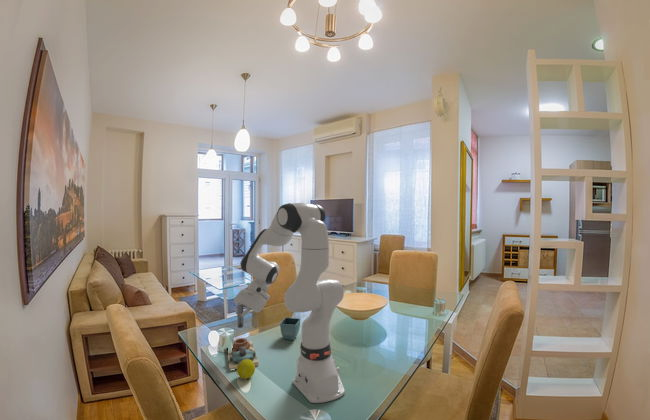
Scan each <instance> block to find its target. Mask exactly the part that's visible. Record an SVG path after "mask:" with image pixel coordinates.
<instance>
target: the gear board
mask: <svg viewBox="0 0 650 420" xmlns="http://www.w3.org/2000/svg"><path fill="white" fill-rule="evenodd" d="M232 344H233V348H232V352H231V353H228V355H227V362H228V361H229V363H228V367H229V368H228V370H229V369H230V370H231V369H237V367H238V364H239V363H240V362H241V361H242V360H245V359H250V360H252V361H253V362H254V364H255V367H258V366H259V360H258V357H257V354H256V350H255V346H254V344H253V341H252V340H249V341H248V339H247V338H244V337H241V338H237V339H234V340H233V343H232Z"/></svg>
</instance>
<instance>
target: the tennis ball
mask: <svg viewBox="0 0 650 420" xmlns="http://www.w3.org/2000/svg"><path fill="white" fill-rule="evenodd" d="M255 371H256V366H255V364H254V362H253V361H252V360H250V359H245V360H242V361H241V362H240V363H239V364H238V367H237V370H236V372H237V375H238V377H239V378H240V379H243V380H246V379H247V378H248V379H250V378H251V377H252V376H253V375H254V374H255ZM248 379H247V380H248Z"/></svg>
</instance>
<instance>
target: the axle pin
mask: <svg viewBox="0 0 650 420" xmlns="http://www.w3.org/2000/svg"><path fill="white" fill-rule="evenodd" d="M236 309H237V310H236V311H237V314H236V315H237V316H236V317H237V328H238V329H239V328H240V329H242V328H243V327H245V325H244V324H245V323H244V317H242V316H240V314H241V312H243V311H244V307H243V305H238V304H237V308H236Z"/></svg>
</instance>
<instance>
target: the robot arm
mask: <svg viewBox="0 0 650 420" xmlns="http://www.w3.org/2000/svg"><path fill="white" fill-rule="evenodd" d="M325 220H326V212H325V209H324V207H322V206H321V205H320V204H317V203H304V202H293V203H291V202H290V203H289V202H288V203H285V204H282V205H280V206H279V207H278V209H277V211H276V213H275V214H274V216H273V219H272V221H271V223H270V226H269V227H267V228H264V229H262V230H261V231H260V232H259V233H258V235H257V236H256V238H255V239H254V241H253V242H252V244H251V245H250V247H249V248H248V250H247V252H246V253H245V255H244V256H243V257H242V259H241V261H240V264H239V265H240V268H241V271H242V272H244V273H247V274H249V275H250V276H252V277H254V279H253V280H252V281H251V283H250V284H249V286H247V287H245V288H242V289H241V290H240V291H239V292H238V293H237V294H236V295H235V297H234V298H233V302H234V303H235V304H236V305H237V306H238V305H243V308H245V309H244V310H243V312H241V314H240V316H242V317H243V318H245V317H246V315H247V314H249V313H250V312H251V311H253V312H255V313H260V312H261V311H262V310H263V309H264V307H265V306H266V305H267V303H268V302H267V301H269V300H270V299H271V296H270V295H269V293H268V290H269V287H270V286H271V285H272V284H273V283H274V282H275V280H276V279H277V278H278V277H279V273H280V270H281V269H280V268H281V267H280V266H279V265H278V263H277V262H275V261H272V260H269V261H268V260H266V259H264V258H263V257H261V256H260V255H259V251H260V250H261V248H262V247H263V245H267V246H272V247H284V246H286V245H287V244H289V242H291V240H292V238H293V236H294V234H295V233H296V232H298V233H300V235H301V247H300V248H301V253H300V267H299V271H298V273H297V276H296V278H295V280H294V281H292V282H293V283H292V284H291V285H290V286H289V287H288V288H287V289H286V291H285V293H284V298H283V301H284V306H285V307H286V308H287V309H288V311H289V312H291V313H297V314H298V313H306V312H310V313H309V315H307V316H306V318H305V319H304V320H303V321H302V324H301V342H300V346H299V349H300V356H299V357H298V359H297V360H296V373H295V375H296V376H295V377H293V379H292V384H293V385H294V386H295V387H296V388H297V389H298V391H299V392H301V394H302V395H303V396H304V397H305V398H306V399H307V401H308V402H309V403H313V404H314V403H315V404H320V403H322V404H323V403H326V402H331V401H335V400H337V399H339V398H341V397H343V396H344V395H345V393H346V391H345V388H344V385H343V383H342V380H341V378H340V375H339V374H340V373H341V368H340V366H337V367H336V359H334V358H333V354H332V347H331V342H330V325H331V320H332V318H333V317H332V316H333V314H334V312H335V310H336V308H337V307H338V305H339V304H340V303H341V302H342V301H343V299H344V294H345V291H344V287H343V284H342V283H341V282H340V281H339V280H338V279H330V278H329V279H328V278H326V279H320V277H321V276H322V274H323V273H324V272H326V271H327V269H328V267H329V264H330V261H329V259H330V252H329V251H330V246H329V245H330V243H329V242H330V241H329V233H328V228H327V225H326V223H325ZM319 279H320V280H319ZM235 314H236V315H237V310H236V311H235Z"/></svg>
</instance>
